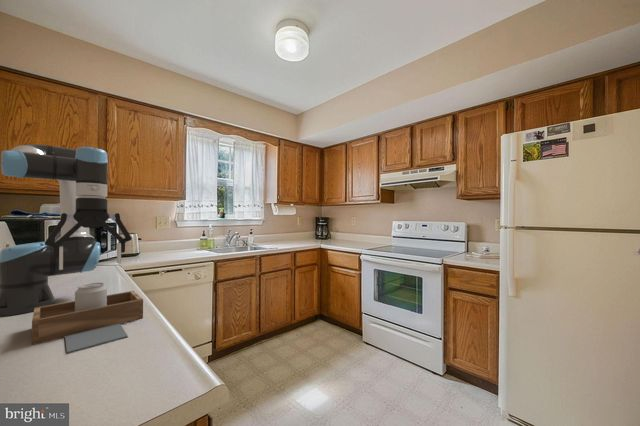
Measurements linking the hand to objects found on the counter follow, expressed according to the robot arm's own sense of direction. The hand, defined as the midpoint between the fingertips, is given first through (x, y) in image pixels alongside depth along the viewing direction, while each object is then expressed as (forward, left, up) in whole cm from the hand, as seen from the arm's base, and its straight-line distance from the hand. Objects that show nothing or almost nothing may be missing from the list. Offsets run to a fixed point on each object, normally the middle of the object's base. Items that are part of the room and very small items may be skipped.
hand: (91, 265), depth 81 cm
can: (0, 0, -18) cm, 18 cm away
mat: (+14, 0, -18) cm, 22 cm away
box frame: (0, 0, -18) cm, 18 cm away
